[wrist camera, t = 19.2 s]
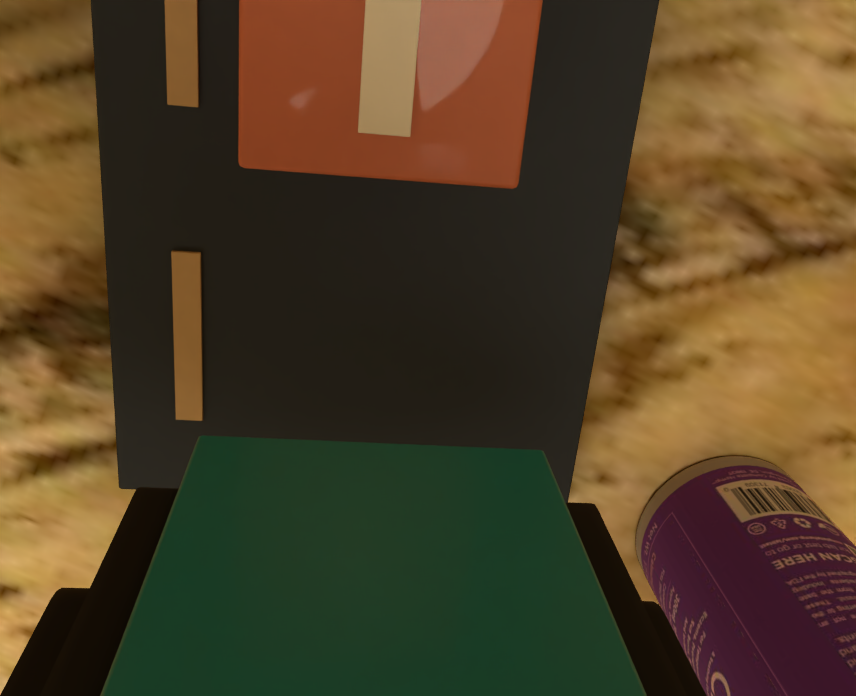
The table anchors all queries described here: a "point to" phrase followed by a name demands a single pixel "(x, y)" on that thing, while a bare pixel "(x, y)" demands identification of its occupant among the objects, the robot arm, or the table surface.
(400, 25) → the orange cube
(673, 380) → the table surface
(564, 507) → the green cube
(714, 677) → the container
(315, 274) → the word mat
